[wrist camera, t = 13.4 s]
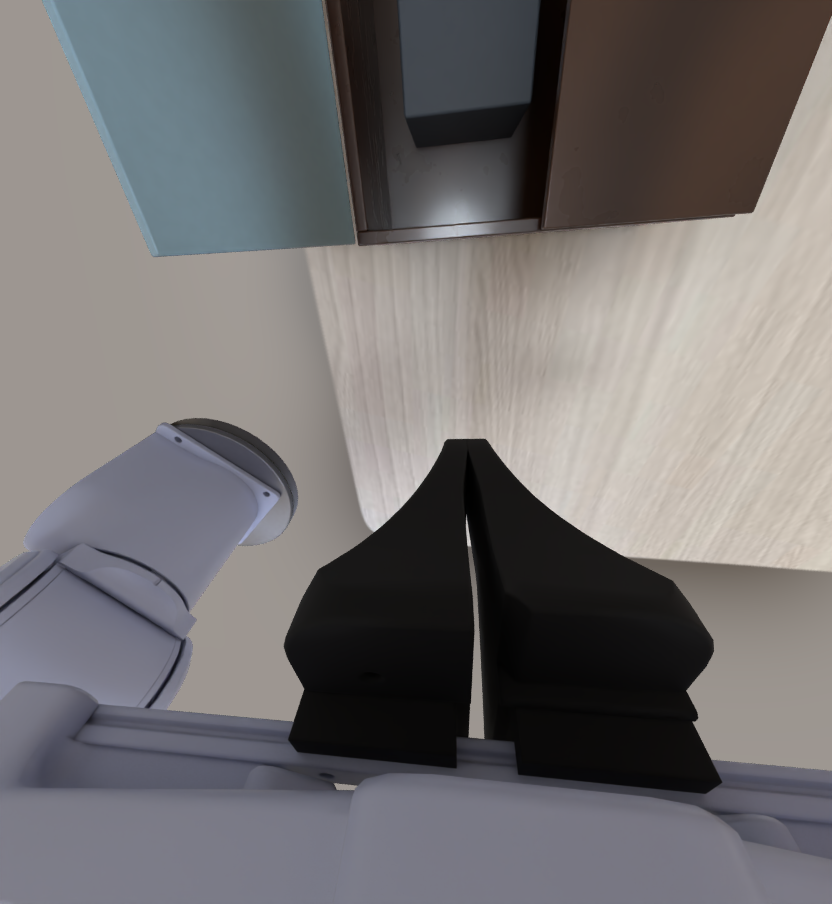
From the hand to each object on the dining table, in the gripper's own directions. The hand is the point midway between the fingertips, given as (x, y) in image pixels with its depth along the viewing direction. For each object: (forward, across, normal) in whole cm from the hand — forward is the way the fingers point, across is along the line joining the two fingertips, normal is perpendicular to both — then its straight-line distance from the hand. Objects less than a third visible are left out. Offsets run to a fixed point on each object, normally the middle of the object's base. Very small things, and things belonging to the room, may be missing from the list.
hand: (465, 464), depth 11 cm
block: (+10, 0, -12) cm, 15 cm away
